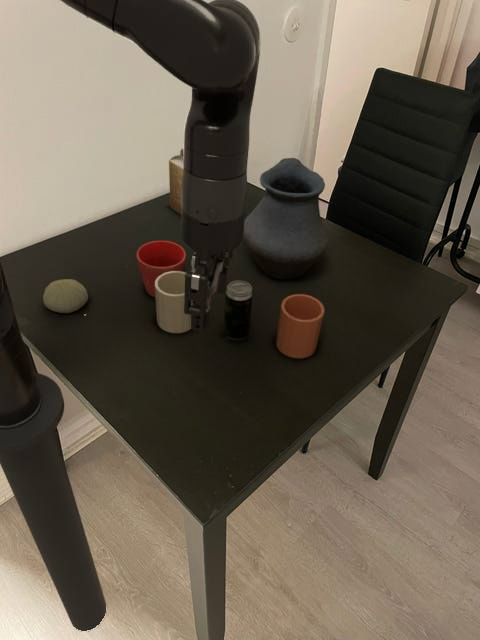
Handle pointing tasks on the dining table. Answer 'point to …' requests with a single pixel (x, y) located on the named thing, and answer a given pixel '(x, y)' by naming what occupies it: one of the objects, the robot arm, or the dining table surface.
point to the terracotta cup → (299, 325)
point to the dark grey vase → (287, 221)
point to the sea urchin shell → (65, 296)
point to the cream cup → (171, 302)
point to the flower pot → (159, 261)
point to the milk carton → (176, 180)
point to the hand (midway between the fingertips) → (208, 309)
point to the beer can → (237, 310)
